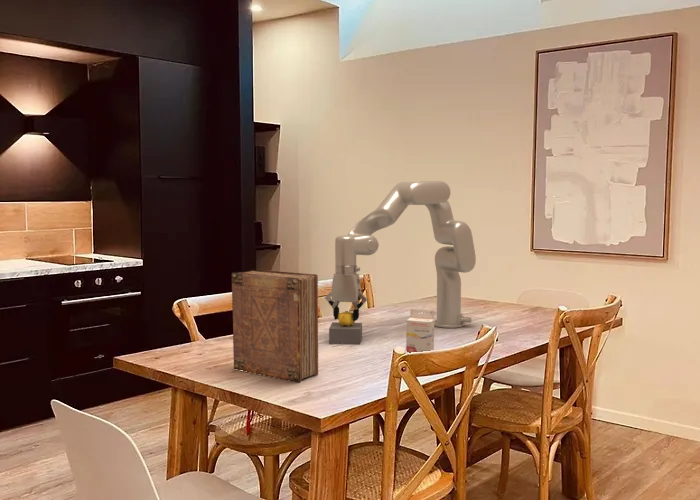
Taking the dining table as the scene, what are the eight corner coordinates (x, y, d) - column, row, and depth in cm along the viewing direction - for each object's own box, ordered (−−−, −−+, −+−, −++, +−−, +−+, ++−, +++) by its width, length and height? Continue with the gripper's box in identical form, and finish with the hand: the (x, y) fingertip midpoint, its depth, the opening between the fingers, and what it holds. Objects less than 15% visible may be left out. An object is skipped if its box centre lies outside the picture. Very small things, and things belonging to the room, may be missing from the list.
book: (319, 375, 203) (318, 274, 200) (300, 382, 195) (299, 278, 192) (253, 363, 216) (252, 269, 214) (233, 370, 209) (231, 272, 206)
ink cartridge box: (405, 354, 227) (405, 310, 226) (409, 351, 232) (409, 308, 231) (431, 356, 225) (431, 312, 223) (434, 353, 229) (434, 309, 228)
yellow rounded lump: (343, 322, 253) (343, 308, 252) (357, 323, 250) (357, 309, 249) (333, 326, 246) (332, 312, 245) (347, 327, 243) (347, 313, 242)
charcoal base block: (362, 338, 253) (362, 322, 253) (360, 345, 242) (360, 329, 242) (332, 338, 254) (332, 322, 253) (329, 345, 243) (329, 328, 242)
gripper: (372, 269, 246) (372, 319, 248) (327, 268, 252) (327, 316, 254) (365, 272, 239) (365, 323, 241) (319, 270, 245) (319, 320, 247)
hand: (346, 319), depth 247 cm, fingers open, 6 cm apart
